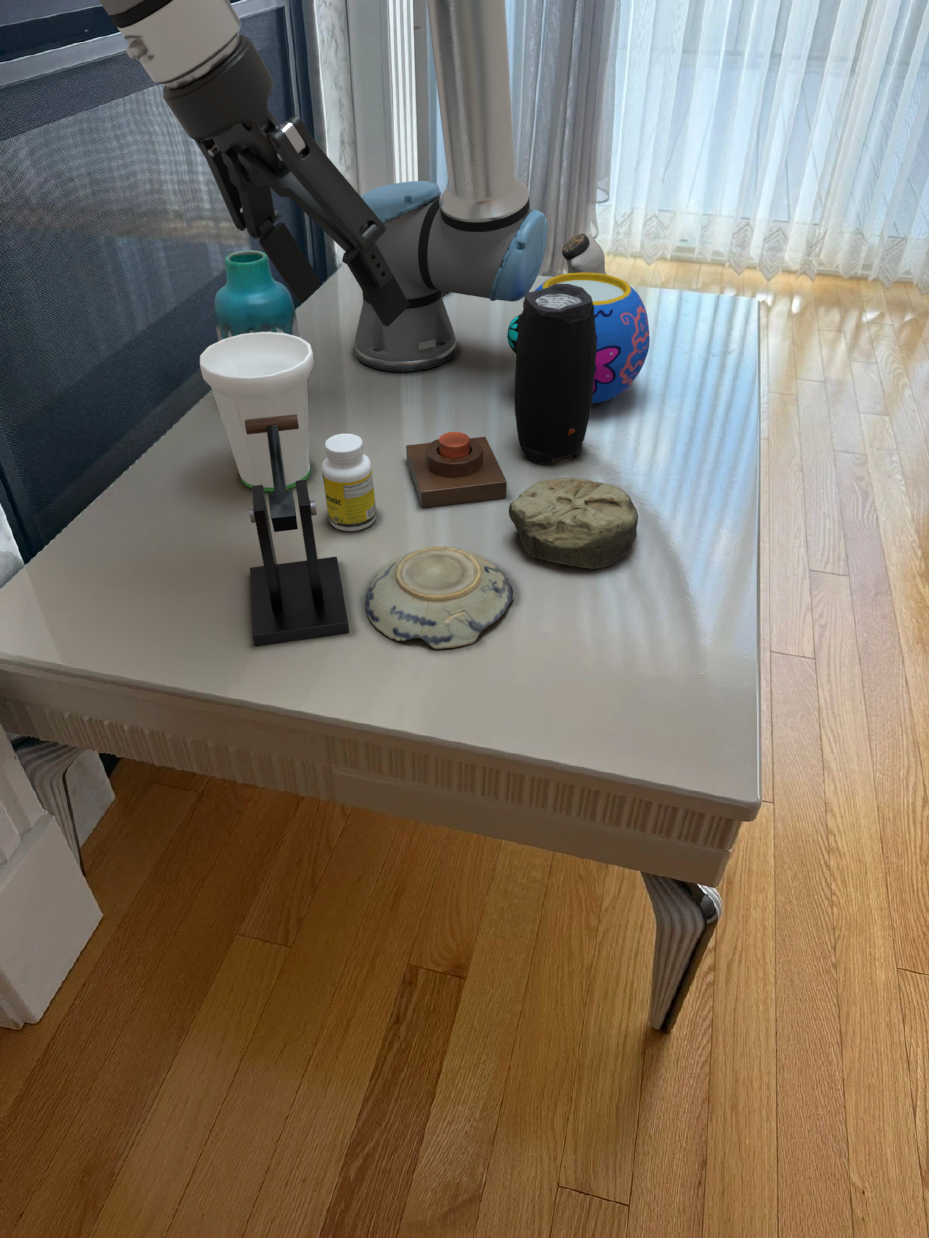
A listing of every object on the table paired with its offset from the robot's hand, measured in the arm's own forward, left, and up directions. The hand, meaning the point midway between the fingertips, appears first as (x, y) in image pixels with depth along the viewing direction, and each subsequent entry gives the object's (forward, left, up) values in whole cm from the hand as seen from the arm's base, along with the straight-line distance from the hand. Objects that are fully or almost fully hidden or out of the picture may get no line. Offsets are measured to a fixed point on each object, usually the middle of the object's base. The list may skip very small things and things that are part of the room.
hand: (351, 304), depth 79 cm
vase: (-40, -10, -27) cm, 49 cm away
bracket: (+7, -9, -27) cm, 29 cm away
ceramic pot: (-31, +32, -27) cm, 52 cm away
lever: (+2, -9, -15) cm, 17 cm away
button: (-13, +11, -23) cm, 29 cm away
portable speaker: (-17, +24, -27) cm, 40 cm away
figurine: (-50, +40, -27) cm, 70 cm away
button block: (-13, +11, -27) cm, 32 cm away
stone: (+2, +21, -27) cm, 35 cm away
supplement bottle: (-7, -2, -27) cm, 28 cm away
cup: (-19, -10, -27) cm, 34 cm away
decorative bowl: (+9, +5, -27) cm, 29 cm away
